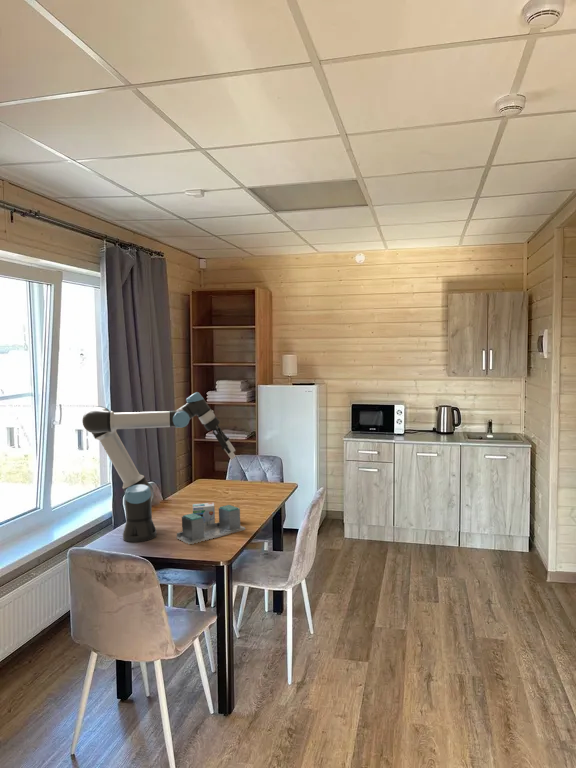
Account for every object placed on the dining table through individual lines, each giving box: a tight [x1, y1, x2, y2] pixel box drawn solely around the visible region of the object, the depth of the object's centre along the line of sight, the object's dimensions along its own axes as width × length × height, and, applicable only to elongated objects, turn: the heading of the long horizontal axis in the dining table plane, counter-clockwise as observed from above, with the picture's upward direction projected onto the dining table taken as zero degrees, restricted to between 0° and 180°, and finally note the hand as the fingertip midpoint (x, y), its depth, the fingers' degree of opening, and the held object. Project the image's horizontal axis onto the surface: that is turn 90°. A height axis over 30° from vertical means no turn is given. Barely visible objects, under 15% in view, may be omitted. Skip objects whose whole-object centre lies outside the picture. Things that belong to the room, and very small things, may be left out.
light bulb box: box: [192, 502, 216, 526], centre depth 272 cm, size 11×7×11 cm, turn 101°
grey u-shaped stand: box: [176, 504, 246, 545], centre depth 260 cm, size 30×12×11 cm, turn 130°
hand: (233, 454), depth 279 cm, fingers open, 13 cm apart
